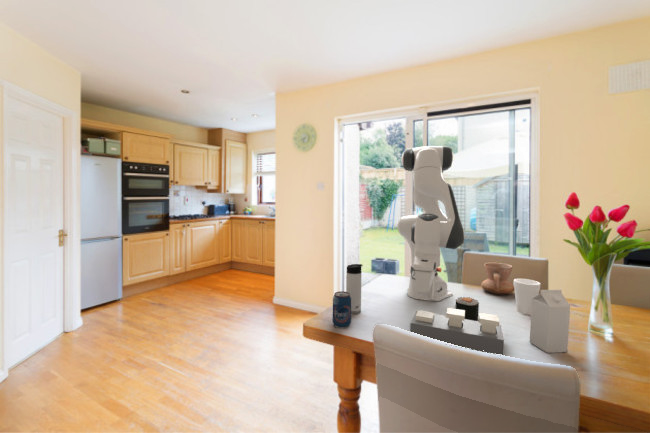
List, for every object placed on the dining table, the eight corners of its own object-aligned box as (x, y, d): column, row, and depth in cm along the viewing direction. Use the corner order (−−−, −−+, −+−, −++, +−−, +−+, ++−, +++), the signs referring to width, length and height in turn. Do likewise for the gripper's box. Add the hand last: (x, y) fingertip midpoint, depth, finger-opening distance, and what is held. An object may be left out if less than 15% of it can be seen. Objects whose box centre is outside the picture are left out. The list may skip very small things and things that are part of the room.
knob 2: (478, 334, 99) (479, 318, 99) (478, 327, 105) (479, 312, 104) (498, 338, 97) (499, 321, 97) (497, 331, 102) (498, 315, 102)
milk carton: (529, 342, 103) (532, 286, 101) (549, 341, 103) (552, 286, 102) (546, 353, 96) (549, 293, 94) (567, 352, 96) (571, 293, 95)
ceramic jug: (484, 285, 167) (484, 260, 166) (515, 290, 159) (516, 263, 157) (477, 294, 153) (478, 266, 152) (511, 300, 144) (512, 270, 143)
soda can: (334, 329, 112) (334, 297, 111) (331, 321, 118) (331, 291, 118) (353, 328, 113) (353, 296, 112) (348, 320, 119) (348, 290, 119)
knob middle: (445, 328, 104) (446, 313, 103) (447, 322, 109) (447, 307, 108) (463, 331, 101) (464, 316, 101) (464, 325, 106) (465, 310, 106)
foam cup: (512, 306, 136) (513, 277, 135) (537, 310, 132) (539, 280, 131) (512, 313, 128) (514, 282, 127) (539, 317, 123) (541, 286, 122)
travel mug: (361, 314, 126) (361, 266, 124) (345, 313, 127) (345, 265, 125) (362, 309, 132) (363, 263, 130) (347, 307, 133) (347, 262, 132)
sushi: (480, 318, 123) (481, 298, 122) (473, 324, 117) (473, 303, 116) (460, 312, 128) (460, 294, 128) (451, 318, 123) (452, 298, 122)
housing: (409, 336, 106) (410, 322, 106) (415, 323, 117) (416, 311, 117) (503, 355, 94) (504, 340, 94) (500, 339, 105) (500, 325, 104)
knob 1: (415, 330, 108) (415, 315, 108) (417, 324, 113) (418, 310, 113) (431, 333, 106) (432, 318, 106) (433, 327, 111) (434, 312, 111)
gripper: (421, 253, 119) (421, 288, 120) (412, 266, 100) (411, 306, 102) (439, 254, 116) (438, 290, 117) (432, 268, 98) (431, 310, 99)
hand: (425, 298), depth 109 cm, fingers closed
